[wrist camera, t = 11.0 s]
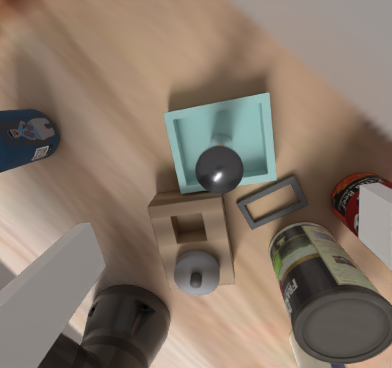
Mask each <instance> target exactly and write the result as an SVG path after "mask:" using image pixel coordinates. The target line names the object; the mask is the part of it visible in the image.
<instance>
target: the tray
mask: <svg viewBox="0 0 392 368" xmlns="http://www.w3.org/2000/svg"><path fill="white" fill-rule="evenodd" d="M163 115H164V119H165V124H166V128H167V133H168V137H169V142H170V146H171V151H172V155H173V160H174V164H175V169H176V173H177V178H178V182H179V187H180V191H181V194H184V193H191V192H198V191H205V190H206V189H204V188H203V187H202V186H201V185H200V184H199V182H198V180H197V178H196V174H195V167H196V163H197V161H198V158H199V156H200V155H201V154H202V152H203V151H205V150H206V149H208V148H209V146H210V142H211V139H212V138H213V137H214V136H215V135H217V134H226V135H227V136H229V137H230V139H231V141H232V146H233V150H235V151H236V152H237V153H238V154H239V156H240V158H241V160H242V163H243V168H244V173H243V178H242V180H241V182H240V183H239V185H238V186H240V185H247V184H254V183H261V182H268V181H275V180H277V177H276V165H275V154H274V142H273V130H272V118H271V107H270V95H269V92H268V93H262V94H257V95H252V96H247V97H242V98H237V99H232V100H227V101H222V102H216V103H211V104H206V105H201V106H196V107H191V108H186V109H181V110H176V111H171V112H166V113H163Z"/></svg>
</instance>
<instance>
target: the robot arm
mask: <svg viewBox="0 0 392 368" xmlns="http://www.w3.org/2000/svg"><path fill="white" fill-rule="evenodd" d="M358 239H360V240H361V241H362V242H363V243H364V244H365V245H366V246H367V247H368V248H369V249H370V250H371V251H372V252H373V253H374V254H375V255H376V256H377V257H378V258H379V259H380V260H381V261H382V262H383V263H384V264H385V265H386V266H387V267H388V268H390V269H391V270H392V189H390V188H388V187H386V186H384V185H382V184H380V183H371V184H364V185H360V194H359V231H358ZM105 267H106V264H105V261H104V258H103V256H102V253H101V250H100V247H99V245H98V242H97V239H96V236H95V234H94V231H93V228H92V225H91V222H88V223H80V224H76V225H75V226H74V227H73V228H72V229H71V230H70V231H68V232H67V233H66V234H65V235H64V236H63V237H61V238H60V239H59V240H58V241H57V242H56V243H55V244H53V245H52V246H51V247H50V248H49V249H48V250H47V251H45V252H44V253H43V254H42V255H41V256H40V257H39V258H37V259H36V260H35V261H34V262H33V263H32V264H31V265H29V266H28V267H27V268H26V269H25V270H24V271H22V272H21V273H20V274H19V275H18V276H17V277H16V278H15V279H13V280H12V281H11V282H10V283H9V284H8V285H6V286H5V287H4V288H3V289H2V290H1V291H0V368H149V367H150V365H151V363H152V362H153V360H154V358H155V357H156V355H157V354H158V352H159V350H160V348H161V347H162V345H163V344H164V342H165V340H166V338H167V334H168V330H169V326H170V316H169V313H168V310H167V308H166V306H165V305H164V304H163V302H162V301H161V300H160V299H159V298H158V297H156V296H155V295H154V294H152V293H151V292H149V291H147V290H145V289H142V288H139V287H136V286H130V285H118V286H113V287H110V288H108V289H106V290H104V291H102V292H101V293H100V294H99V295H98V296H97V298H96V299H95V301H94V303H93V304H92V306H91V308H90V310H89V313H88V317H87V322H86V326H85V331H84V335H83V339H82V343H81V345H79V344H78V343H77V342H75V341H74V340H72V339H71V338H69V337H68V336H67V335H66V334H64V333H63V332H62V330H63V329H64V327H65V326H66V324H67V323H68V321H69V320H70V318H71V317H72V316H73V314H74V313H75V311H76V310H77V308H78V307H79V305H80V304H81V302H82V301H83V299H84V298H85V296H86V295H87V293H88V292H89V290H90V289H91V287H92V286H93V285H94V283H95V282H96V280H97V279H98V277H99V276H100V274H101V273H102V271H103V270H104V268H105Z"/></svg>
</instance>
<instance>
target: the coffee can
mask: <svg viewBox="0 0 392 368" xmlns="http://www.w3.org/2000/svg"><path fill="white" fill-rule="evenodd" d="M269 257H270V260H271V262H272V265H273V268H274V271H275V274H276V277H277V280H278V283H279V286H280V289H281V293H282V296H283V299H284V302H285V305H286V308H287V311H288V314H289V318H290V321H291V324H292V328H293V333H294V337H295V340H296V342H297V344H298V345H299V347H300V348H301V349H302V350H303V351H304V352H305V353H306V354H308V355H309V356H311V357H313V358H315V359H317V360H320V361H323V362H327V363H332V364H351V363H358V362H362V361H365V360H368V359H371V358H373V357H375V356H377V355H379V354H380V353H382V352H383V351H385V350H386V349H387V348H388V347H389V346H390V345H391V344H392V305H391V304H390V303H389V302H388V301H387V300H386V299H385V298H384V297H382V295H381V294H380V293H379V292H378V290H377V289H376V288H375V287H374V286H373V284H372V283H371V282H370V281H369V279H368V278H367V277H366V276H365V275H364V273H363V272H362V271H361V270H360V269H359V267H358V266H357V265H356V264H355V263H354V261H353V260H352V259H351V258H350V256H349V255H348V254H347V253H346V252H345V250H344V249H343V248H342V247H341V245H340V244H339V243H338V242H337V241H336V240H335V238H334V237H333V235H332V234H331V233H330V232H329V231H328V230H327V229H326V228H324V227H323V226H321V225H318V224H315V223H310V222H299V223H295V224H291V225H289V226H287V227H285V228H283V229H282V230H280V231H279V232H278V233H277V234H276V235H275V236H274V238H273V239H272V241H271V243H270V247H269Z"/></svg>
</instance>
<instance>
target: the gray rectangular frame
mask: <svg viewBox="0 0 392 368" xmlns="http://www.w3.org/2000/svg"><path fill="white" fill-rule="evenodd" d="M288 184H291V185H292V187H293V189H294V191H295V193H296V195H297V197H298V199H299V201H298V202H296V203H294V204H292V205H289V206H287V207H285V208H283V209H281V210H278V211H276V212H274V213H272V214H270V215H267V216H265V217H263V218H261V219H259V220H256V221H253V220H252V218H251V216H250V214H249V213H248V211H247V209H246V207H245V206H244V205H247V204H249V203H251V202H253V201H255V200H257V199H259V198H261V197H263V196H265V195H268V194H270V193H272V192H274V191H276V190H278V189H280V188H282V187H284V186H286V185H288ZM236 203H237V205H238V207H239V209H240V210H241V212H242V214H243V216H244V217H245V219H246V221H247V222H248V224H249V226H250V228H251V229H252V230H253V229H255V228H257V227H259V226H262V225H264V224H266V223H268V222H270V221H273V220H275V219H277V218H279V217H282V216H284V215H286V214H288V213H291V212H293V211H295V210H297V209H300V208H302V207H304V206H306V205H308V203H307V201H306V199H305V197H304V194H303V192H302V190H301V188H300V186H299V184H298V182H297V180H296V178H295V176H294V175H291V176H289V177H287V178H285V179H283V180H281V181H279V182H277V183H275V184H273V185H271V186H269V187H267V188H264V189H262V190H260V191H258V192H256V193H254V194H252V195H250V196H248V197H246V198H244V199H242V200H240V201H238V202H236Z"/></svg>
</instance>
